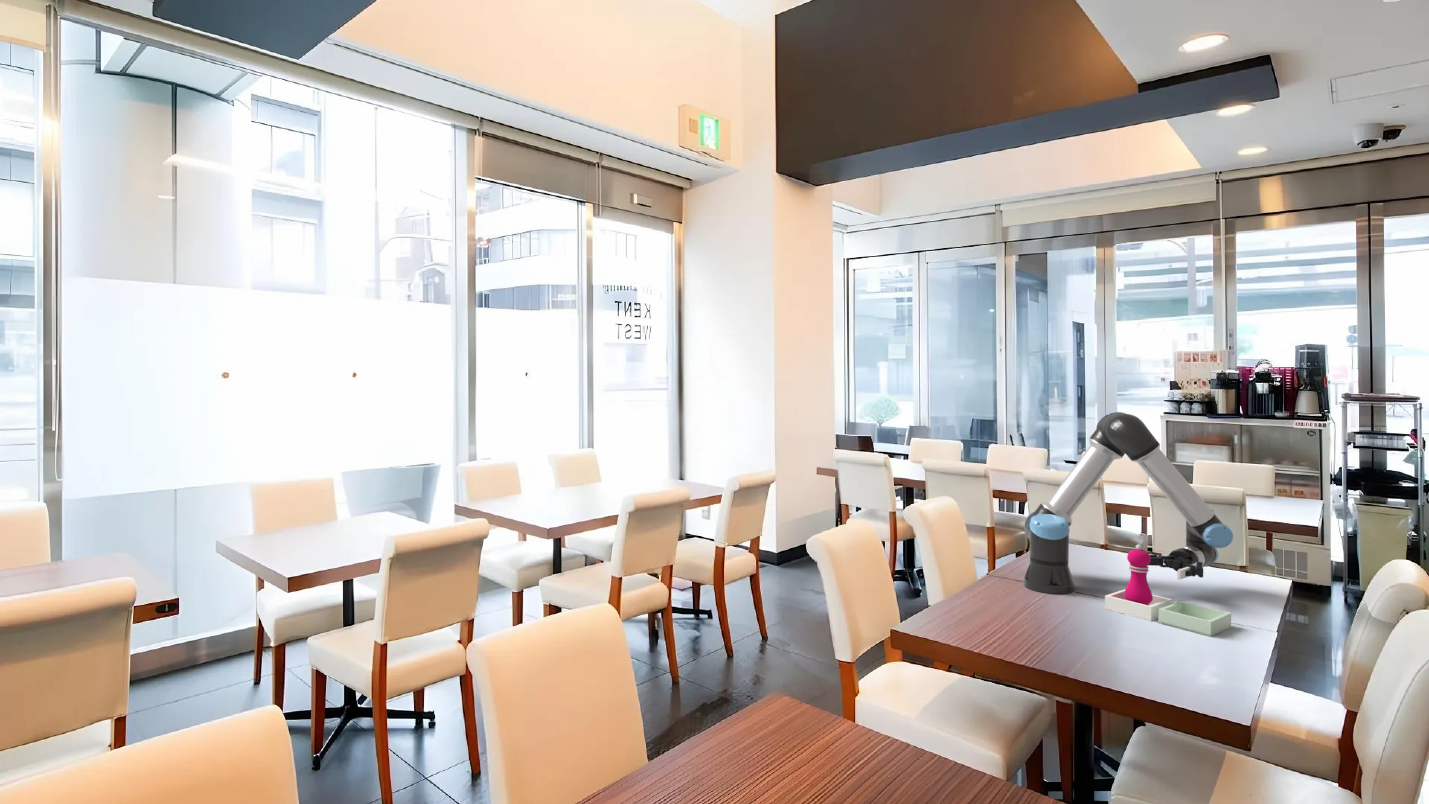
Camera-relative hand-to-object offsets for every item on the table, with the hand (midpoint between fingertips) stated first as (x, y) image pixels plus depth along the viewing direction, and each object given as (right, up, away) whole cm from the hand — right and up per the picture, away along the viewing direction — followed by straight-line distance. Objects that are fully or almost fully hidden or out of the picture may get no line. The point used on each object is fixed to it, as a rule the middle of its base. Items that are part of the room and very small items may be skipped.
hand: (1154, 569), depth 215 cm
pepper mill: (-8, -11, -5) cm, 14 cm away
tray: (+1, -11, -17) cm, 21 cm away
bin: (-8, -11, -5) cm, 14 cm away
